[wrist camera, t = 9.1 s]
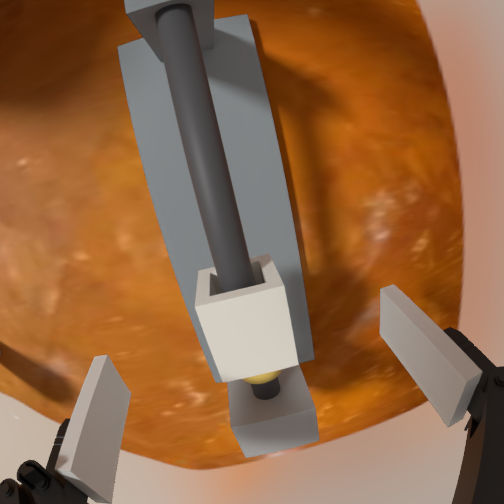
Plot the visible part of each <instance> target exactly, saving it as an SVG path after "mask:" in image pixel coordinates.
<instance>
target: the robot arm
mask: <svg viewBox="0 0 504 504" xmlns="http://www.w3.org/2000/svg"><path fill="white" fill-rule="evenodd" d="M380 335H381V337H382V338H383V339H384V341H385V342H386V343H387V345H388V346H389V347H390V349H391V350H392V351H393V352H394V354H395V355H396V356H397V358H398V359H399V360H400V362H401V363H402V364H403V366H404V367H405V368H406V370H407V371H408V372H409V374H410V375H411V377H412V378H413V379H414V381H415V382H416V383H417V385H418V386H419V387H420V389H421V390H422V392H423V393H424V394H425V396H426V397H427V399H428V400H429V401H430V403H431V404H432V406H433V407H434V408H435V410H436V411H437V413H438V414H439V415H440V417H441V418H442V420H443V421H444V423H445V424H446V426H447V427H450V426H452V425H453V424H455V423H457V422H458V421H460V420H462V419H463V417H464V415H465V413H466V411H467V410H468V412H469V413H470V414H471V417H470V419H469V421H468V423H467V425H466V427H465V431H466V430H467V429H468V434H467V440H466V446H465V451H464V457H463V461H462V466H461V470H460V475H459V479H458V483H457V487H456V490H455V494H454V498H453V501H452V504H504V367H496V366H495V365H494V364H493V363H492V362H491V361H490V360H489V359H488V358H487V357H486V356H485V355H484V354H483V353H482V352H481V351H480V350H479V349H478V348H477V347H476V346H474V344H473V343H472V342H470V341H468V338H467V337H465V336H464V335H463V334H462V333H461V332H460V331H458V330H456V329H453V328H451V327H450V328H447V329H445V330H442V329H441V328H440V327H439V326H438V325H436V324H435V323H434V322H433V321H432V320H431V319H430V318H429V317H428V316H427V315H426V314H425V313H424V312H423V311H422V310H421V309H420V308H419V307H418V306H417V305H416V304H415V303H414V302H413V301H411V300H410V299H409V298H408V297H407V296H406V295H405V294H404V293H403V292H402V291H401V290H400V289H399V288H397V287H396V286H395V285H394V284H393V285H390V286H387V287H384V288H381V289H380ZM130 397H131V392H130V391H129V389H128V388H127V386H126V385H125V383H124V381H123V380H122V378H121V377H120V375H119V373H118V372H117V370H116V368H115V367H114V365H113V363H112V362H111V360H110V358H109V356H108V355H102V356H95V357H94V359H93V362H92V364H91V366H90V369H89V371H88V374H87V376H86V379H85V381H84V384H83V387H82V389H81V392H80V394H79V397H78V400H77V402H76V405H75V408H74V411H73V413H72V416H71V419H65V421H64V422H63V423H62V425H61V426H60V427H59V430H58V433H57V438H56V439H55V442H54V446H53V448H52V451H51V454H50V457H49V460H48V463H47V466H46V469H44V468H43V467H42V466H41V465H40V464H39V463H38V462H36V461H34V460H28V461H26V462H24V463H23V464H22V465H21V466H20V467H19V469H18V472H17V480H18V481H19V482H21V483H22V484H21V485H19V484H18V483H17V482H16V481H15V480H13V479H10V478H9V479H5V480H3V481H2V482H1V483H0V504H88V503H87V499H88V497H90V498H91V499H92V500H94V501H95V502H99V503H108V504H111V503H112V497H113V489H114V483H115V476H116V470H117V464H118V458H119V452H120V447H121V441H122V436H123V431H124V426H125V421H126V416H127V411H128V406H129V402H130Z"/></svg>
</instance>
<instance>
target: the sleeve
mask: <svg viewBox="0 0 504 504" xmlns="http://www.w3.org/2000/svg"><path fill="white" fill-rule="evenodd" d="M250 262H251V266H252V270H253V275H254V279H255V283H256V285H255V286H251V287H247V288H242V289H238V290H234V291H230V292H226V293H222V290H221V287H220V283H219V280H218V276H217V273H216V269H215V267H212V268H207V269H203V270H199V271H198V280H197V289H196V298H195V309H196V312H197V315H198V318H199V321H200V323H201V326H202V329H203V332H204V335H205V337H206V340H207V343H208V345H209V348H210V351H211V353H212V356H213V359H214V361H215V364H216V366H217V369H218V371H219V374H220V377H221V379H222V382H223V383H224V382H229V381H234V380H238V379H243V378H247V377H252V376H256V375H261V374H265V373H269V372H273V371H277V370H281V369H285V368H289V367H292V366H296V365H299V364H298V358H297V352H296V347H295V341H294V336H293V330H292V325H291V319H290V314H289V308H288V303H287V298H286V292H285V287H284V284H283V282H282V280H281V278H280V275H279V273H278V271H277V269H276V267H275V265H274V263H273V261H272V258H271V256H270V254H265V255H261V256H257V257H253V258H250Z"/></svg>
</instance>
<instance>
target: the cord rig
mask: <svg viewBox="0 0 504 504" xmlns="http://www.w3.org/2000/svg"><path fill="white" fill-rule="evenodd" d="M124 3H125V10H126V14H127V16H128V17H129V18H130V20H131V21H132V23H133V24H134V25H135V27H136V28H137V30H138V31H139V32H140V34H141V35H142V36H143V38H141V39H138V40H135V41H132V42H129V43H126V44H123V45H121V46H118V47H117V48H118V54H119V60H120V66H121V71H122V76H123V81H124V87H125V92H126V96H127V101H128V106H129V110H130V115H131V119H132V124H133V128H134V132H135V137H136V141H137V145H138V149H139V153H140V157H141V161H142V165H143V169H144V172H145V176H146V180H147V184H148V187H149V191H150V194H151V198H152V201H153V205H154V208H155V212H156V215H157V219H158V222H159V225H160V229H161V232H162V235H163V238H164V242H165V245H166V248H167V251H168V254H169V257H170V260H171V263H172V266H173V269H174V272H175V275H176V278H177V281H178V284H179V287H180V290H181V293H182V296H183V298H184V301H185V304H186V307H187V310H188V312H189V315H190V318H191V321H192V323H193V326H194V329H195V331H196V334H197V337H198V339H199V342H200V344H201V347H202V349H203V352H204V355H205V357H206V360H207V362H208V365H209V367H210V369H211V372H212V374H213V377H214V379H215V382H216V383H219V382H222V379H221V377H220V374H219V371H218V369H217V366H216V364H215V361H214V359H213V356H212V353H211V351H210V348H209V345H208V343H207V340H206V337H205V335H204V332H203V329H202V326H201V323H200V321H199V318H198V315H197V312H196V309H195V298H196V289H197V280H198V271H199V270H203V269H207V268H212V267H215V269H216V273H217V276H218V280H219V283H220V287H221V290H222V293H226V292H230V291H234V290H238V289H242V288H247V287H251V286H255V285H256V283H255V279H254V275H253V270H252V266H251V262H250V258H253V257H257V256H261V255H265V254H270V256H271V258H272V261H273V263H274V265H275V267H276V269H277V271H278V273H279V275H280V278H281V280H282V282H283V284H284V287H285V292H286V298H287V303H288V308H289V314H290V319H291V325H292V330H293V336H294V341H295V347H296V352H297V358H298V364H300V363H303V362H307V361H310V360H314V359H315V357H314V349H313V342H312V335H311V328H310V321H309V314H308V307H307V300H306V294H305V287H304V281H303V275H302V268H301V262H300V256H299V250H298V245H297V239H296V233H295V227H294V222H293V216H292V211H291V206H290V200H289V195H288V190H287V184H286V179H285V174H284V169H283V164H282V159H281V154H280V150H279V145H278V140H277V135H276V131H275V126H274V121H273V117H272V112H271V108H270V104H269V99H268V95H267V90H266V86H265V82H264V78H263V74H262V69H261V65H260V61H259V57H258V53H257V49H256V45H255V41H254V37H253V33H252V30H251V26H250V22H249V18H248V15H247V14H245V15H238V16H232V17H226V18H220V19H215V20H214V0H124ZM227 385H228V398H229V410H230V421H231V428H232V430H233V433H234V435H235V437H236V439H237V441H238V443H239V445H240V447H241V449H242V451H243V453H244V455H245V457H246V458H248V457H253V456H258V455H263V454H268V453H273V452H277V451H281V450H286V449H290V448H294V447H298V446H301V445H305V444H309V443H312V442H316V441H319V433H318V425H317V417H316V409H315V405H314V403H313V400H312V397H311V395H310V392H309V389H308V386H307V384H306V381H305V378H304V376H303V373H302V370H301V368H300V365H296V366H292V367H289V368H285V369H281V370H277V371H273V372H269V373H265V374H261V375H256V376H252V377H247V378H243V379H238V380H234V381H229V382H227Z"/></svg>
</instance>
